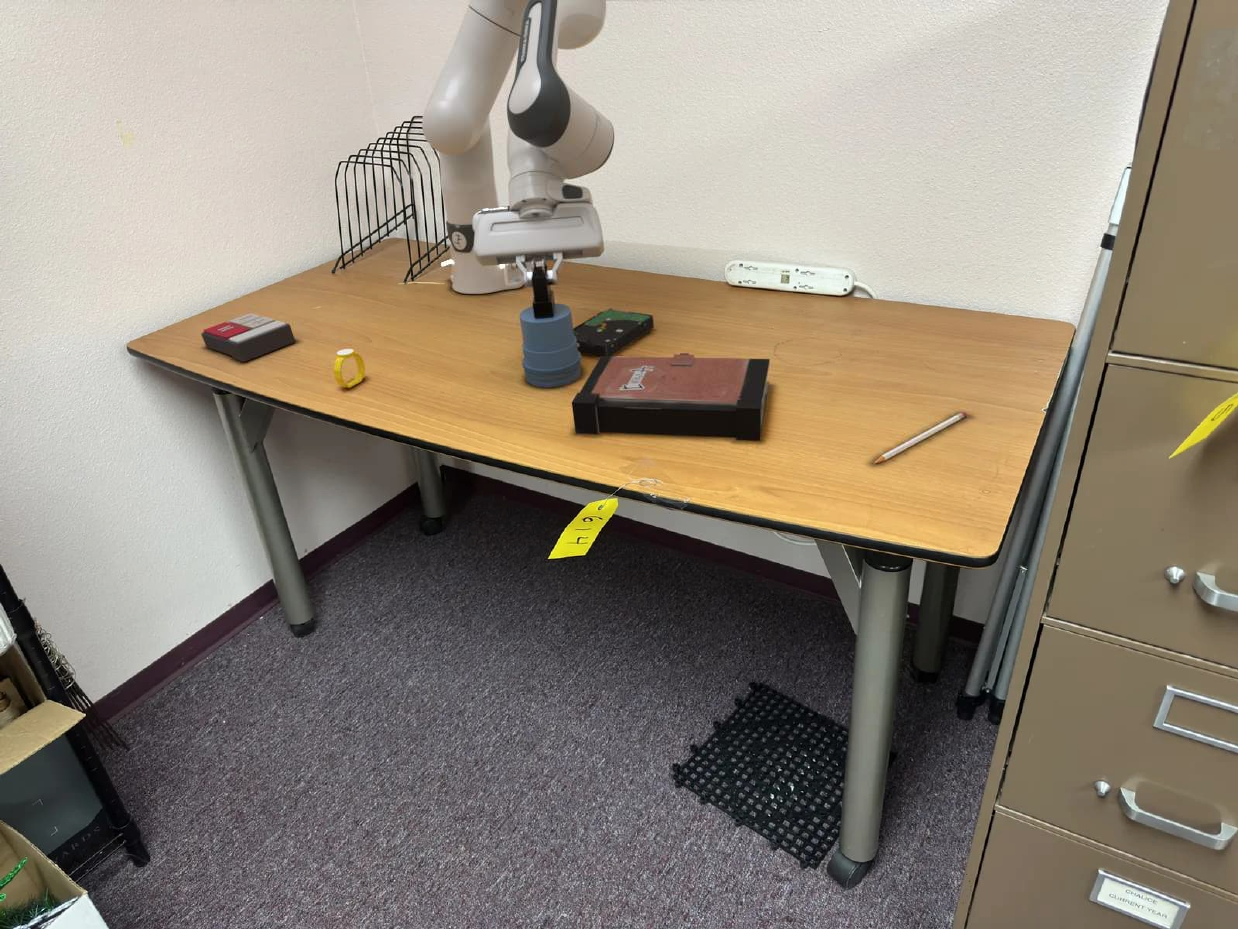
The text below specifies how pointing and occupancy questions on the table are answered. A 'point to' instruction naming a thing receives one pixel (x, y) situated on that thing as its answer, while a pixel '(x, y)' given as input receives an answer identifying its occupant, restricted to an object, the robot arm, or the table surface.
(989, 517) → the table surface
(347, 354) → the watch
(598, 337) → the disk drive
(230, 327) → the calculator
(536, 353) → the cup stack
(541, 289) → the clip
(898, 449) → the pencil
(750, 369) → the book
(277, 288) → the table surface
